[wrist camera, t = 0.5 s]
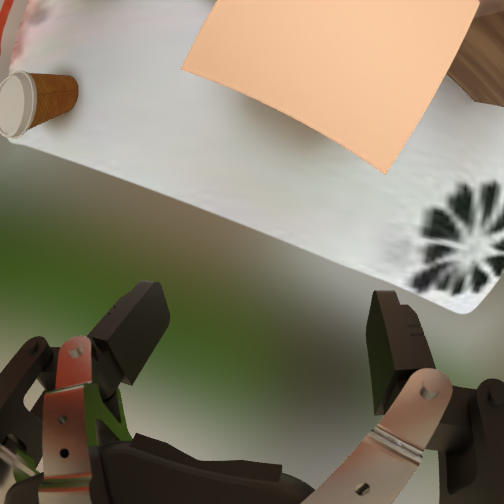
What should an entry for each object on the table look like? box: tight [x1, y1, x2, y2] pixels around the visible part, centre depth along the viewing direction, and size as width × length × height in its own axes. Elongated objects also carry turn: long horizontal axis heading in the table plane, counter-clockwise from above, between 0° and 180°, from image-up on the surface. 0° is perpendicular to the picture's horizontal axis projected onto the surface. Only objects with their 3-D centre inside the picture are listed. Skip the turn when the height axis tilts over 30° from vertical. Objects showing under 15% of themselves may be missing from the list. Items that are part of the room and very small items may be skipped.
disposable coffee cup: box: [0, 71, 78, 138], centre depth 26 cm, size 10×10×12 cm
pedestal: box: [181, 0, 480, 175], centre depth 17 cm, size 14×12×20 cm
